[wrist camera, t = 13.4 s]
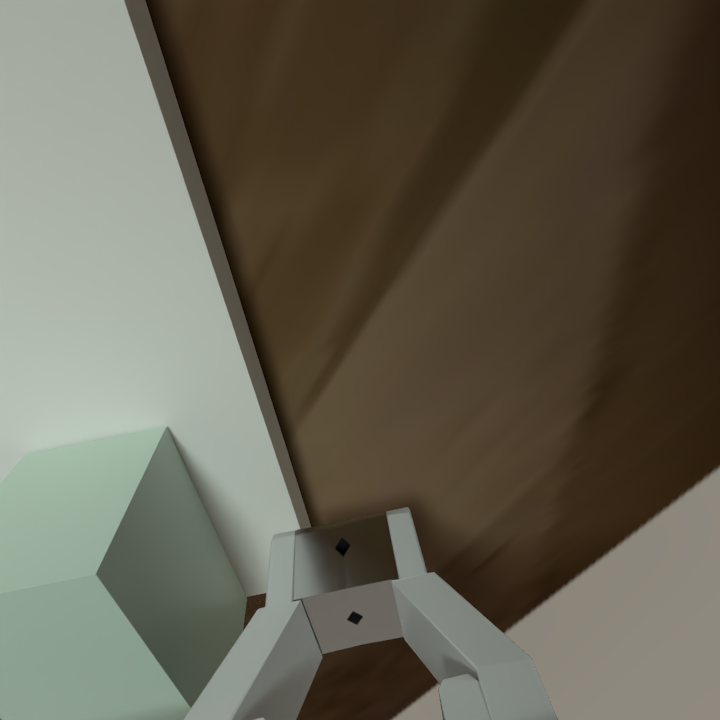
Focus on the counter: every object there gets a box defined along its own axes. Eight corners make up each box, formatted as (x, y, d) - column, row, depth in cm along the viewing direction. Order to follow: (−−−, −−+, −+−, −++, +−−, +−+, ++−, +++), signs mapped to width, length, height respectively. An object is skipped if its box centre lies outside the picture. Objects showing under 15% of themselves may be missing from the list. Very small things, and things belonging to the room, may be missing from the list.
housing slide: (25, 454, 9) (-116, 616, 6) (166, 426, 9) (95, 574, 6) (140, 620, 12) (81, 789, 9) (247, 598, 12) (226, 758, 9)
